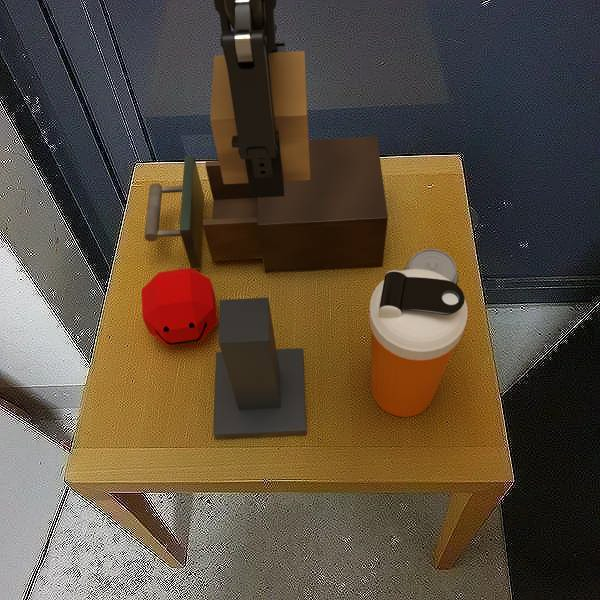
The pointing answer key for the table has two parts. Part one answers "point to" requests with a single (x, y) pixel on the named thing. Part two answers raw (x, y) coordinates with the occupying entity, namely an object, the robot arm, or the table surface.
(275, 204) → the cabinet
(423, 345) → the shaker bottle
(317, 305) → the table surface
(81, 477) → the table surface
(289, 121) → the oak block
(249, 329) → the stand
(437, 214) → the table surface
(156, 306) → the red faceted polyhedron
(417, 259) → the beverage can
